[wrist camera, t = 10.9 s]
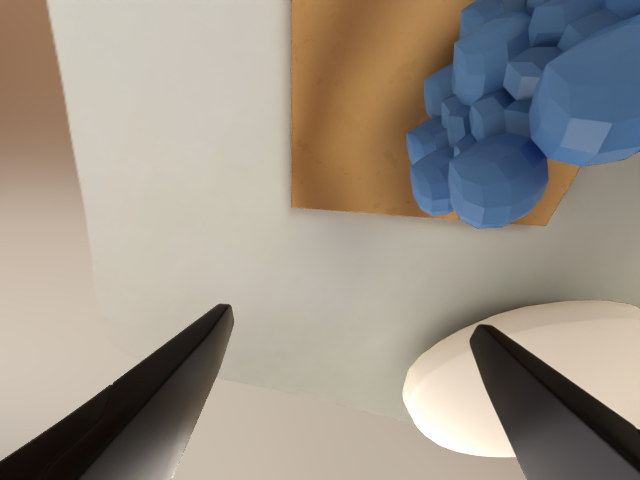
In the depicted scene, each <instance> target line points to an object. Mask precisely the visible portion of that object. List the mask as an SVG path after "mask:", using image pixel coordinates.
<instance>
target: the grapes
mask: <svg viewBox="0 0 640 480" xmlns="http://www.w3.org/2000/svg"><path fill="white" fill-rule="evenodd" d="M424 99H425V106H426V112H427V114H428V115H429V117H430V119H427V120H425V121H424V122H422V123H421V124H419V125H417V126H416V127H414V128H413V129H411V130H410V131H409V132H407V133H406V138H407V149H408V155H409V159H410V163H411V164H412V166H411V167H410V179H411V185H412V191H413V196H414V198H415V200H416V202H417V204H418V206H419V207H420V209H421V210H422V211H424V212H426V213H428V214H429V215H431V216H438V215H448V214H449V213H451V212H453V211H455V212H456V214H457V215H458V217H459V218H460V220H462V221H464V222H466V223H468V224H470V225H472V226H474V227H476V228H478V229H481V228H499V227H503V226H505V225H507V224H509V223H511V222H513V221H516V220H518V219H520V218H522V217H523V216H525V215H526V214H527V213H529V212H530V211H531V210H532V209H533V208H534V207H535V205H536V204H537V203H538V202H539V201H540V200H541V199H542V197H543V194H544V192H545V189H546V187H547V184H548V182H549V174H548V163H547V158H548V159H552V160H556V161H560V162H564V163H568V164H572V165H576V166H580V167H583V166H589V165H595V164H601V163H607V162H614V161H620V160H624V159H626V158H628V157H630V156H632V155H634V154H636V153H638V152H640V0H475V1H473V2H472V3H471V4H469V5H468V6H467V7H465V8H464V9H463V10H461V19H460V32H459V40H458V41H457V42H455V44H454V58H453V63H451V64H449V65H447V66H445V67H443V68H441V69H440V70H438V71H436V72H435V73H433V74H432V75H431V76H429V77H428V78H426V79H425V80H424Z"/></svg>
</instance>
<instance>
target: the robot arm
mask: <svg viewBox="0 0 640 480" xmlns="http://www.w3.org/2000/svg"><path fill="white" fill-rule="evenodd" d="M233 325H234V317H233V312H232V307H231V305H229V304H218V305H217V306H215V307H214V308H213V309H211V310H210V311H209V312H207V313H206V314H205V315H203V316H202V317H201V318H199V319H198V320H196V321H195V322H194V323H192V324H191V325H190V326H188V327H187V328H186V329H184V330H183V331H182V332H180V333H179V334H178V335H176V336H175V337H174V338H172V339H171V340H170V341H168V342H167V343H166V344H164V345H163V346H162V347H160V348H159V349H158V350H156V351H155V352H154V353H152V354H151V355H150V356H148V357H147V358H145V359H144V360H143V361H141V362H140V363H139V364H138V365H136V366H135V367H133V368H132V369H131V370H129V371H128V372H127V373H125V374H124V375H123V376H121V377H120V378H119V379H117V380H116V381H115V382H114V383H113V384H112V385H109V386H108V387H106V388H105V389H104V390H102V391H101V392H100V393H98V394H97V395H96V396H95V397H93V398H92V399H90V400H89V401H88V402H86V403H85V404H83V405H82V406H81V407H79V408H78V409H76V410H75V411H74V412H72V413H71V414H69V415H68V416H67V417H65V418H64V419H62V420H61V421H59V422H58V423H57V424H55V425H53V426H52V427H50V428H49V429H48V430H47V431H45V432H43V433H42V434H40V435H39V436H37V437H36V438H35V439H33V440H31V441H30V442H28V443H27V444H25V445H24V446H22V447H21V448H19V449H18V450H16V451H15V452H13V453H12V454H10V455H9V456H7V457H6V458H4V459H3V460H1V461H0V480H172V478H173V476H174V473H175V471H176V469H177V466H178V464H179V462H180V459H181V457H182V455H183V453H184V450H185V448H186V445H187V443H188V441H189V439H190V436H191V434H192V432H193V429H194V427H195V425H196V422H197V420H198V418H199V416H200V413H201V411H202V409H203V406H204V404H205V402H206V399H207V397H208V395H209V393H210V390H211V388H212V386H213V383H214V381H215V379H216V376H217V374H218V372H219V369H220V366H221V363H222V360H223V357H224V354H225V351H226V348H227V345H228V341H229V338H230V335H231V332H232V329H233ZM469 343H470V347H471V350H472V353H473V356H474V358H475V361H476V364H477V367H478V370H479V373H480V375H481V378H482V381H483V384H484V386H485V389H486V391H487V394H488V396H489V398H490V401H491V403H492V405H493V407H494V409H495V411H496V414H497V416H498V418H499V420H500V422H501V425H502V427H503V429H504V431H505V433H506V435H507V438H508V440H509V442H510V444H511V446H512V449H513V451H514V453H515V455H516V457H517V460H518V462H519V464H520V466H521V468H522V470H523V473H524V475H525V477H526V479H527V480H640V429H638V428H636V427H635V426H634V425H633V424H632V423H630V422H629V421H627V420H626V419H625V418H623V417H622V416H620V415H619V414H617V413H616V412H615V411H613V410H612V409H610V408H609V407H608V406H606V405H605V404H603V403H602V402H600V401H599V400H598V399H596V398H595V397H593V396H592V395H590V394H589V393H588V392H586V391H585V390H583V389H582V388H581V387H579V386H578V385H576V384H575V383H573V382H572V381H571V380H569V379H568V378H566V377H565V376H564V375H562V374H561V373H559V372H558V371H556V370H555V369H554V368H552V367H551V366H549V365H548V364H547V363H545V362H544V361H542V360H541V359H539V358H538V357H537V356H535V355H534V354H532V353H531V352H530V351H528V350H527V349H525V348H524V347H522V346H521V345H520V344H518V343H517V342H515V341H514V340H512V339H511V338H510V337H508V336H507V335H505V334H504V333H503V332H501V331H500V330H498V329H497V328H495V327H494V326H492V325H487V324H479V325H477V327H476V328H475V330H474V332H473V334H472V336H471V337H470V341H469Z"/></svg>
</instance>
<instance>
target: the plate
mask: <svg viewBox="0 0 640 480" xmlns="http://www.w3.org/2000/svg"><path fill="white" fill-rule="evenodd" d="M479 324H487V325H492V326H494V327H495V328H497V329H498V330H500V331H501V332H503V333H504V334H505V335H507V336H508V337H510V338H511V339H512V340H514V341H515V342H517V343H518V344H520V345H521V346H522V347H524V348H525V349H527V350H528V351H530V352H531V353H532V354H534V355H535V356H537V357H538V358H539V359H541V360H542V361H544V362H545V363H547V364H548V365H549V366H551V367H552V368H554V369H555V370H556V371H558V372H559V373H561V374H562V375H564V376H565V377H566V378H568V379H569V380H571V381H572V382H573V383H575V384H576V385H578V386H579V387H581V388H582V389H583V390H585V391H586V392H588V393H589V394H590V395H592V396H593V397H595V398H596V399H598V400H599V401H600V402H602V403H603V404H605V405H606V406H608V407H609V408H610V409H612V410H613V411H615V412H616V413H617V414H619V415H620V416H622V417H623V418H625V419H626V420H627V421H629V422H630V423H632V424H633V425H634V426H635V427H636V428H638V429H640V308H638V307H635V306H633V305H630V304H627V303H620V302H613V301H605V300H582V301H562V302H555V303H548V304H540V305H533V306H526V307H522V308H518V309H515V310H511V311H507V312H504V313H500V314H496V315H493V316H491V317H489V318H486V319H484V320H482V321H479V322H477V323H475V324H473V325H470V326H468V327H466V328H463V329H461V330H459V331H457V332H455V333H454V334H452V335H450V336H448V337H447V338H445V339H443V340H441V341H439V342H438V343H437V344H435V345H434V346H433V347H431V348H430V349H428V350H427V351H426V352H424V353H423V354H422V355H420V356H419V357H418V359H417V360H416V361H415V362H414V364H413V365H412V366H411V368H410V369H409V370H408V373H407V377H406V380H405V384H404V388H403V400H404V402H405V405H406V407H407V409H408V411H409V413H410V415H411V417H412V419H413V420H414V422H415V424H416V426H417V427H418V428H419V429H420V430H421V431H422V432H423V433H424V434H425V435H426V436H427V437H428V438H430V439H431V440H433V441H434V442H436V443H437V444H438V445H440V446H443V447H446V448H448V449H451V450H453V451H457V452H461V453H466V454H471V455H478V456H490V457H516V455H515V453H514V451H513V449H512V446H511V444H510V442H509V440H508V438H507V435H506V433H505V431H504V429H503V427H502V425H501V422H500V420H499V418H498V416H497V414H496V411H495V409H494V407H493V405H492V403H491V401H490V398H489V396H488V394H487V391H486V389H485V386H484V384H483V381H482V378H481V375H480V373H479V370H478V367H477V364H476V361H475V358H474V356H473V353H472V350H471V347H470V343H469V341H470V337H471V336H472V334H473V332H474V330H475V328H476V327H477V325H479Z"/></svg>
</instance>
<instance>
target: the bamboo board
mask: <svg viewBox="0 0 640 480" xmlns="http://www.w3.org/2000/svg"><path fill="white" fill-rule="evenodd" d="M473 1H475V0H292V208H305V209H319V210H332V211H346V212H360V213H373V214H387V215H400V216H414V217H427V218H441V219H454V220H460V218H459V217H458V215H457V214H456V212H455V211H453V212H451V213H449V214H448V215H438V216H431V215H429V214H428V213H426V212H424V211H422V210H421V209H420V207H419V206H418V204H417V202H416V200H415V198H414V196H413V191H412V185H411V179H410V167H411V166H412V164H411V163H410V159H409V155H408V149H407V138H406V133H407V132H409V131H410V130H411V129H413V128H414V127H416V126H417V125H419V124H421V123H422V122H424V121H425V120H427V119H430V117H429V115H428V114H427V112H426V106H425V99H424V80H425V79H426V78H428V77H429V76H431V75H432V74H433V73H435V72H436V71H438V70H440V69H441V68H443V67H445V66H447V65H449V64H451V63H453V58H454V44H455V42H457V41H458V40H459V32H460V19H461V10H463V9H464V8H465V7H467V6H468V5H469V4H471V3H472V2H473ZM547 163H548V174H549V182H548V184H547V187H546V189H545V192H544V194H543V197H542V199H541V200H540V201H539V202H538V203H537V204H536V205H535V207H534V208H533V209H532V210H531V211H530V212H529V213H527V214H526V215H525V216H523V217H522V218H520V219H518V220H516V221H513V222H511V223H509V224H522V225H535V226H546V224H547V223H548V221H549V219H550V218H551V216H552V214H553V212H554V211H555V209H556V207H557V206H558V204H559V202H560V201H561V199H562V197H563V196H564V194H565V192H566V191H567V189H568V187H569V186H570V184H571V182H572V181H573V179H574V177H575V176H576V174H577V172H578V170H579V169H580V166H576V165H572V164H568V163H564V162H560V161H556V160H552V159H548V158H547Z"/></svg>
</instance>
